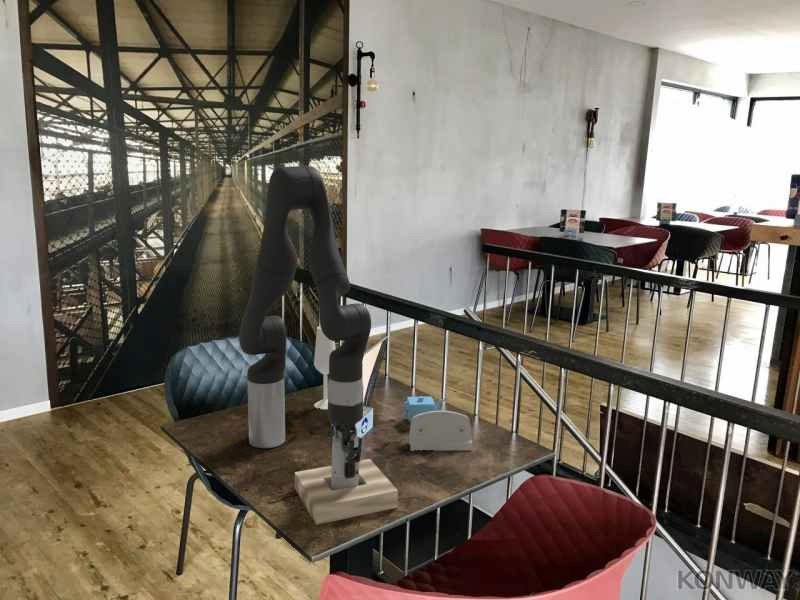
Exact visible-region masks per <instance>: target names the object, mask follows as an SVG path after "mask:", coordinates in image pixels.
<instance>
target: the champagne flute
mask: <svg viewBox="0 0 800 600" xmlns="http://www.w3.org/2000/svg"><path fill="white" fill-rule="evenodd" d="M315 337H316V338H315V347H314V348H315V349H314V350H315V351H314V357H313V358H314V359H313V365H314V367H315V369H316V370H317V371H318V372H319V373H320V374H322V375H323V379H322V381H323V389H322V390H323V391H322V392H323V394H322V395H323V396H322V397H323V398H322V399H321V400H318V401H317V402H316V403H314V404H313V406H314V407H315V408H316V409H319V408H320V410H328V375H329V356H330V353H331V352H332V351H333V350H335V349H336V343H335V342H336V341H331V340H329V339H328V338H327V337H326V336H325V335H324V333H323V332H322V330H321V326H320V325H319V326H317V328H316V336H315Z"/></svg>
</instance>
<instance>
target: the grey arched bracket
mask: <svg viewBox="0 0 800 600" xmlns="http://www.w3.org/2000/svg"><path fill="white" fill-rule="evenodd" d="M408 434H409V435H408V442H407V443H408V445H410V448H409V449H410V451H414V450H416V451H417V450H420V451H421V450H428V451H429V450H434V451H438V452H439V451H442V452H443V451H473V445H474V444H473V438H472V430H471V422H470V419H469V416H468V415H465V414H463V413H459V412H455V411H452V410H451V411H450V410H440V409H438V411H429V412H424V413H420V414H417V415H415V416H413V417H412V419H411V423H410V427H409V433H408ZM414 452H415V451H414ZM421 452H422V451H421ZM429 452H430V451H429Z"/></svg>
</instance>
